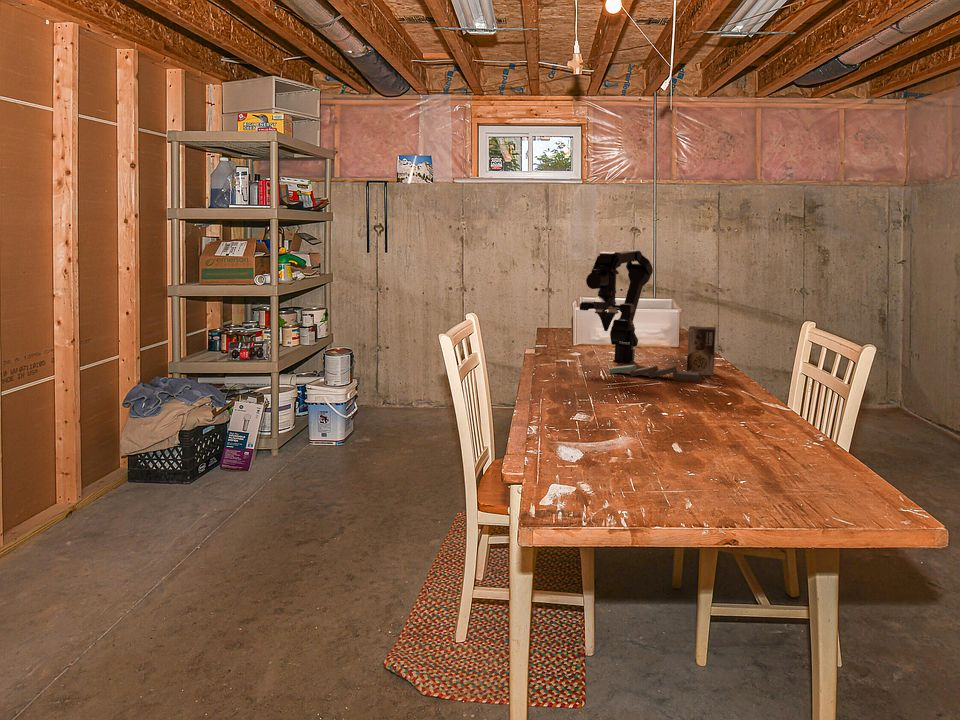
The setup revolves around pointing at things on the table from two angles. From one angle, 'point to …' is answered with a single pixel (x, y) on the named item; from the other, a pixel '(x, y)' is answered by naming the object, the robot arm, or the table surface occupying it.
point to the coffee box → (701, 350)
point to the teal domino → (622, 369)
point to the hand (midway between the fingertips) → (605, 331)
